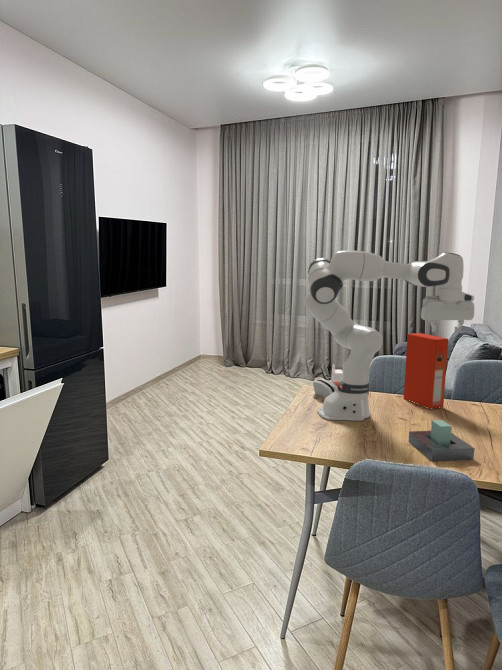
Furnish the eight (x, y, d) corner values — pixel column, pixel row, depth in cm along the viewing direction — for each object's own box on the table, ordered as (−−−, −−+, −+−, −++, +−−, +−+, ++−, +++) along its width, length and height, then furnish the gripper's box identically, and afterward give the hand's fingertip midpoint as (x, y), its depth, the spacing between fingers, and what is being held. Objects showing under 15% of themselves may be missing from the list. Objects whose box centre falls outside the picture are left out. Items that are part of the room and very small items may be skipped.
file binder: (429, 409, 211) (435, 339, 206) (403, 399, 226) (407, 333, 221) (443, 407, 214) (449, 338, 209) (415, 397, 230) (420, 332, 224)
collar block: (431, 461, 156) (432, 449, 156) (408, 441, 173) (409, 431, 172) (473, 459, 158) (474, 448, 158) (446, 440, 175) (447, 430, 174)
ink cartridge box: (343, 396, 229) (344, 367, 226) (332, 396, 229) (334, 367, 227) (340, 391, 237) (341, 363, 235) (330, 391, 237) (331, 363, 235)
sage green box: (438, 454, 162) (440, 426, 161) (429, 447, 168) (431, 420, 167) (449, 453, 163) (451, 426, 161) (440, 446, 169) (442, 420, 167)
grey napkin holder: (342, 401, 221) (337, 383, 218) (334, 406, 219) (329, 387, 216) (323, 392, 236) (318, 374, 233) (315, 396, 234) (310, 378, 231)
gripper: (427, 296, 175) (424, 333, 177) (478, 296, 177) (474, 332, 180) (419, 295, 181) (416, 330, 183) (468, 295, 183) (465, 330, 186)
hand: (445, 331), depth 181 cm, fingers open, 8 cm apart
